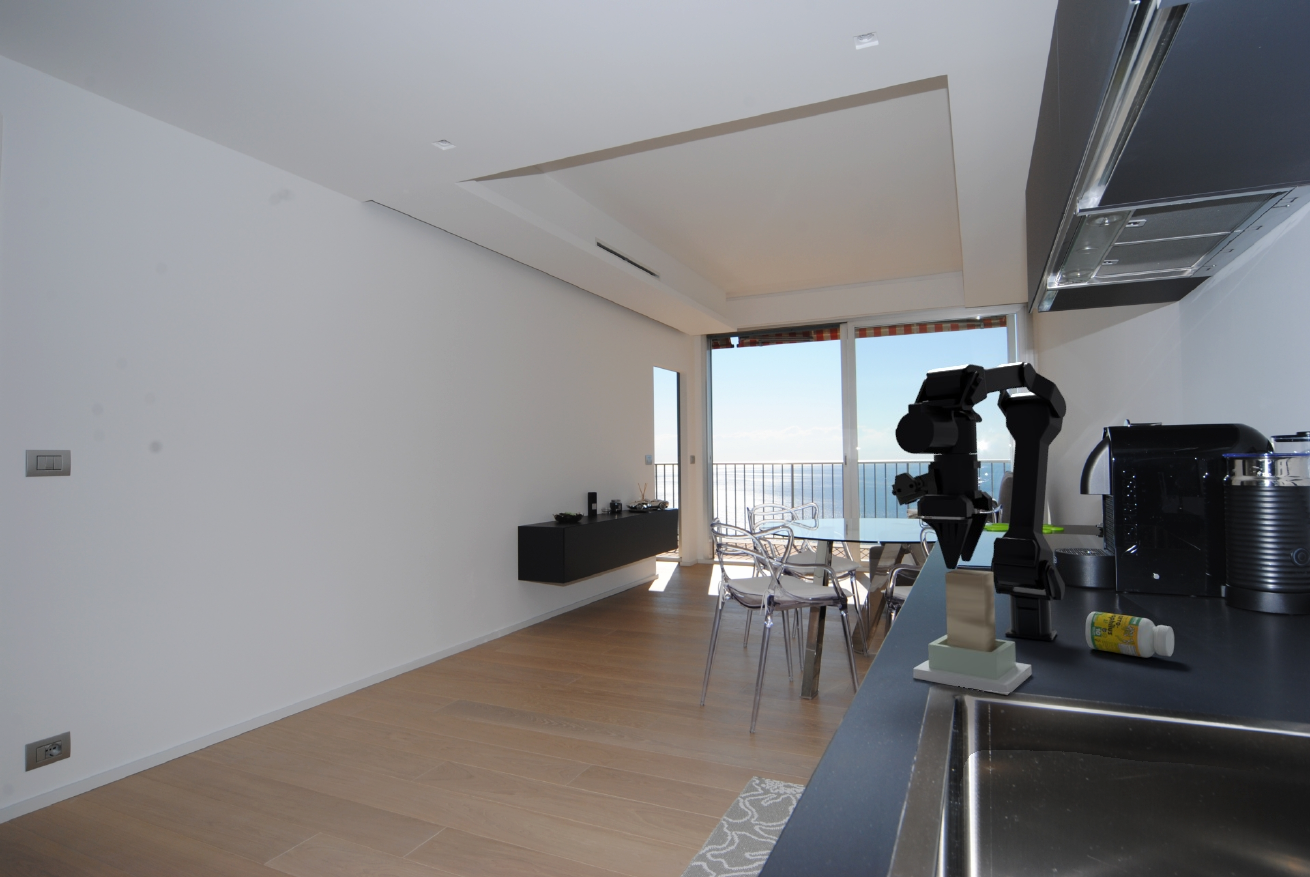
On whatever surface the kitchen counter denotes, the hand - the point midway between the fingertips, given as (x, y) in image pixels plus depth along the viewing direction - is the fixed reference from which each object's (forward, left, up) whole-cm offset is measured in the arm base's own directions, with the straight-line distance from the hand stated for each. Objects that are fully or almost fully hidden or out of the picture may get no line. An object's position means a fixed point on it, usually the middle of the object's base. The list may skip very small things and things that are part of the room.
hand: (958, 565), depth 97 cm
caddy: (+8, +3, -13) cm, 16 cm away
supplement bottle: (-16, +14, -10) cm, 24 cm away
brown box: (+8, +3, -12) cm, 15 cm away
